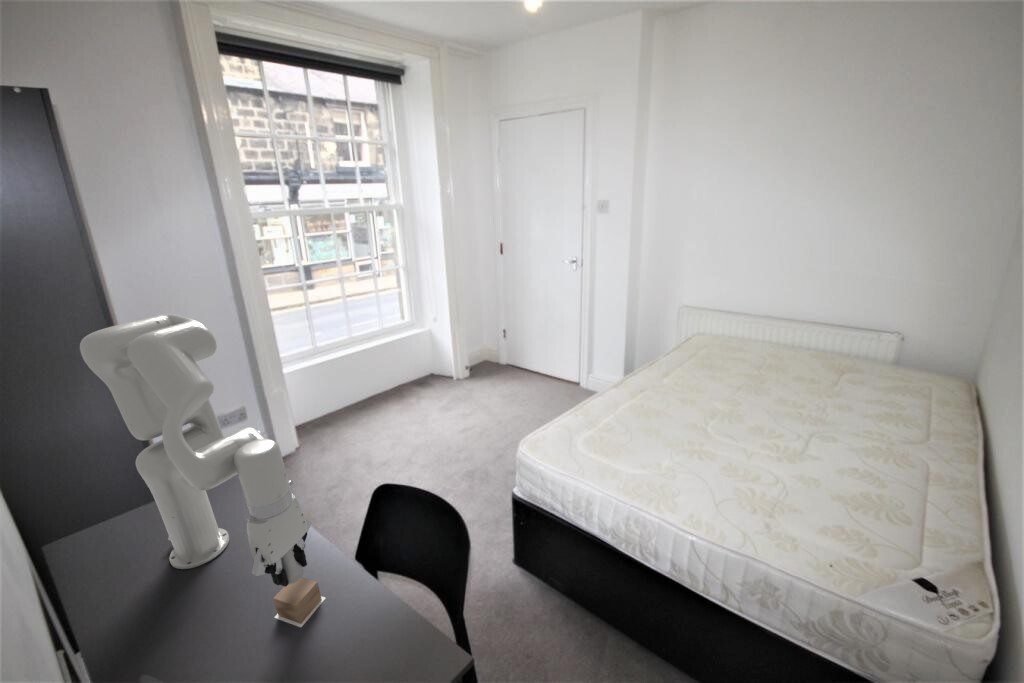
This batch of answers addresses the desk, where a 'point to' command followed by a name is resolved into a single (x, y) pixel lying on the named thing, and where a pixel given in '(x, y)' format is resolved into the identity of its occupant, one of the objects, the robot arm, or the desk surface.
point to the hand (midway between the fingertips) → (291, 573)
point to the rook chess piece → (291, 567)
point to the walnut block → (297, 600)
